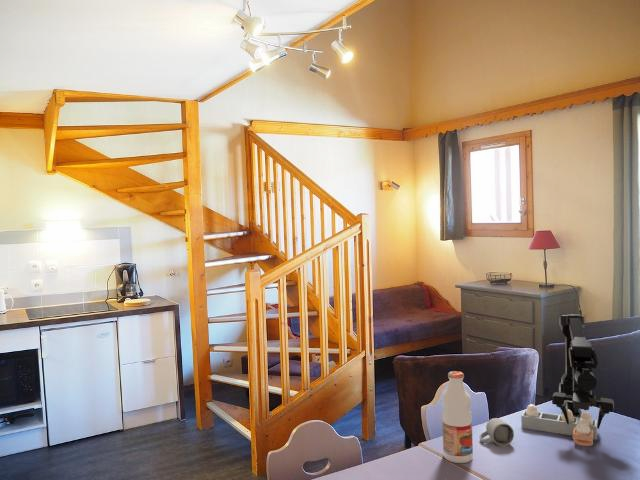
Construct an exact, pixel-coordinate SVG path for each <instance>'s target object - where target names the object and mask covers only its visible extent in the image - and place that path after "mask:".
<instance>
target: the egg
mask: <svg viewBox="0 0 640 480" xmlns="http://www.w3.org/2000/svg"><path fill="white" fill-rule="evenodd" d="M576 431H577V433H578V434H584V435H589V433H590V427H589V424H588V422H587V421H586V420H584V419H580V420H579V421H578V423H577V426H576Z"/></svg>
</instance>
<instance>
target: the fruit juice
mask: <svg viewBox="0 0 640 480" xmlns="http://www.w3.org/2000/svg"><path fill="white" fill-rule="evenodd" d="M447 377H448V381H449V382H448V385H447V387H446V390H445V391H444V392H443V394H442V400H441V401H442V405H443V410H442V414H441V415H442V416H441V417H442V419H441V420H442V454H443V458H444V459H446V460H447V461H448V462H450V463H454V464H466V463H469V462H471V461H472V460H473V458H474V457H473V455H474V453H473V451H474V450H473V449H474V448H473V445H474V444H473V417H472V412H471V408H470V407H471V404H472V400H471V395H470V394H469V392H468V391H467V390H466V388H465V384H464V378H465V374H464V373H463V372H462V371H457V370H453V371H452V370H451V371H449V372H448V373H447Z"/></svg>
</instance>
